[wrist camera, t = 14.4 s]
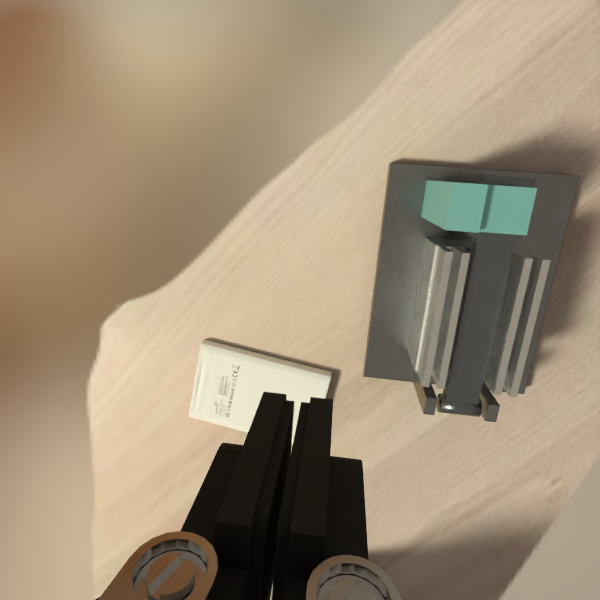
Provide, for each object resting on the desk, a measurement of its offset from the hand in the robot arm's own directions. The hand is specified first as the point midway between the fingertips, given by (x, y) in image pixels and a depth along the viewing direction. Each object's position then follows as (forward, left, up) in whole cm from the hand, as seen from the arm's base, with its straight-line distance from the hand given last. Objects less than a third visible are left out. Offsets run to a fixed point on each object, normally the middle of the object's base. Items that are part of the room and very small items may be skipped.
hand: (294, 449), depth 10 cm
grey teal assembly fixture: (-2, -11, -27) cm, 29 cm away
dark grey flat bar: (-2, -11, -22) cm, 24 cm away
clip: (+5, -9, -26) cm, 28 cm away
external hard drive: (-14, +6, -28) cm, 32 cm away
